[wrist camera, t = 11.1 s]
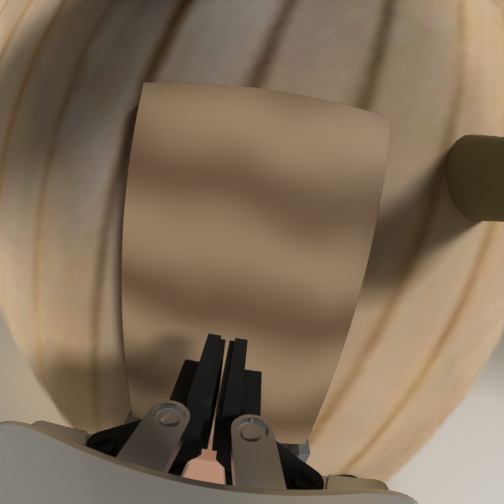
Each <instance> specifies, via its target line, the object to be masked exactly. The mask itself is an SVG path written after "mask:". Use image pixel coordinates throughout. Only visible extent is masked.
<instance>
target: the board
mask: <svg viewBox="0 0 504 504" xmlns="http://www.w3.org/2000/svg"><path fill="white" fill-rule="evenodd" d="M390 125H391V118H389V117H386V116H383V115H379V114H376V113H373V112H369V111H366V110H362V109H359V108H355V107H351V106H348V105H344V104H340V103H336V102H331V101H327V100H323V99H318V98H313V97H308V96H303V95H298V94H292V93H287V92H280V91H274V90H267V89H260V88H252V87H243V86H233V85H221V84H207V83H180V82H153V83H144V84H143V89H142V93H141V98H140V102H139V107H138V112H137V118H136V123H135V129H134V134H133V141H132V147H131V154H130V161H129V169H128V177H127V186H126V196H125V208H124V222H123V240H122V320H123V338H124V352H125V363H126V373H127V382H128V390H129V397H130V404H131V411H132V416H134V417H137V418H140V419H143V418H144V416H145V415H146V413H147V412H148V410H149V409H150V408H151V407H152V406H153V405H154V404H155V403H157V402H159V401H164V400H169V399H170V397H171V394H172V391H173V389H174V386H175V384H176V381H177V379H178V376H179V374H180V371H181V368H182V366H183V363H184V361H185V360H186V359H188V360H193V361H198V362H199V361H200V358H201V355H202V351H203V348H204V345H205V342H206V339H207V336H208V334H209V333H210V334H215V335H221V339H225V340H226V342H225V350H224V358H223V366H222V374H221V381H222V376H223V371H224V366H225V361H226V356H227V351H228V346H229V341H230V340H231V341H235V338H240V339H247V340H248V343H247V353H246V362H245V369H246V370H253V371H261V372H262V383H261V417H263V418H265V419H266V420H268V421H269V423H270V424H271V425H272V427H273V430H274V435H275V439H276V441H277V442H278V443H288V444H305V443H306V441H307V438H308V436H309V434H310V432H311V429H312V427H313V425H314V423H315V420H316V418H317V416H318V413H319V411H320V408H321V406H322V404H323V401H324V399H325V396H326V394H327V391H328V388H329V386H330V383H331V381H332V378H333V375H334V372H335V370H336V367H337V364H338V361H339V358H340V356H341V353H342V350H343V347H344V344H345V341H346V338H347V335H348V331H349V328H350V325H351V322H352V318H353V315H354V312H355V308H356V305H357V301H358V298H359V294H360V290H361V287H362V283H363V279H364V275H365V271H366V267H367V263H368V259H369V255H370V250H371V246H372V241H373V237H374V232H375V227H376V222H377V217H378V211H379V206H380V200H381V195H382V188H383V182H384V175H385V169H386V161H387V153H388V145H389V136H390ZM220 386H221V382H220ZM219 391H220V389H219ZM218 396H219V395H218ZM217 401H218V400H217ZM216 408H217V405H216ZM215 416H216V410H215V415H214V420H213V425H212V430H211V435H213V434H214V425H215Z"/></svg>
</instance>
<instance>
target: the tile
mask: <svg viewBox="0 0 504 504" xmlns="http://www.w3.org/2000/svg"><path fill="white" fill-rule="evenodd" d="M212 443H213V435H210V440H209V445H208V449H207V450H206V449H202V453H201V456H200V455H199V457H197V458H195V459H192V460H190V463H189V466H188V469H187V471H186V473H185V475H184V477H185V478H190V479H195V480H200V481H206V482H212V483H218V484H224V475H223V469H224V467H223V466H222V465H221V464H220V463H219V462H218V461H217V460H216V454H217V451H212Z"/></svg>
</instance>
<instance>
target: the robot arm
mask: <svg viewBox="0 0 504 504" xmlns="http://www.w3.org/2000/svg"><path fill="white" fill-rule="evenodd" d="M225 342H226V340H225V339H221V335H215V334H210V333H209V334H208V336H207V339H206V342H205V345H204V348H203V351H202V355H201V358H200V361H199V362H198V361H193V360H188V359H186V360H185V361H184V363H183V366H182V368H181V371H180V374H179V376H178V379H177V381H176V384H175V386H174V389H173V391H172V394H171V397H170V399H169V400H164V401H159V402H157V403H155V404H154V405H153V406H152V407H151V408H150V409H149V410H148V412H147V413H146V415H145V416H144V418H143V419H140V420H137V421H134V422H131V423H128V424H124V425H121V426H118V427H114V428H111V429H107V430H104V431H100V432H97V433H95V434H93V435H91V434H88V433H87V431H83V430H78V429H74V428H70V427H65V426H61V425H57V424H54V423H50V422H46V421H37V422H34V423H33V424H27V423H21V422H15V421H5V422H0V504H418V503H417V501H415V500H414V499H413V498H411V497H410V496H408V495H406V494H403V493H399V492H395V491H390V490H388V487H387V486H386V484H385V483H383V482H381V481H379V480H375V479H363V478H353V477H344V476H336V475H329V476H328V477H327V476H321V475H320V474H319V473H318V472H317V471H316V470H314V469H313V468H312V467H310V466H309V465H307V464H306V463H305V462H303V461H302V460H301V459H299V458H298V457H297V456H295V455H294V454H293V453H291V452H290V451H289V450H287V449H286V448H285V447H284V446H282V445H281V444H280V443H278V442H277V441H276V439H275V435H274V430H273V427H272V425H271V424H270V423H269V421H268V420H266V419H265V418H263V417H261V383H262V372H261V371H253V370H246V369H245V362H246V353H247V343H248V340H247V339H240V338H235V341H231V340H230V341H229V346H228V351H227V356H226V361H225V366H224V371H223V376H222V381H221V374H222V366H223V358H224V350H225ZM220 382H221V386H220ZM219 389H220V391H219ZM218 395H219V396H218ZM217 400H218V401H217ZM216 405H217V408H216ZM215 410H216V416H215V425H214V434H213V443H212V451H217V454H216V460H217V461H218V462H219V463H220V464H221V465H222V466H223V467H224V469H223V475H224V484H218V483H212V482H206V481H200V480H195V479H190V478H185V477H184V475H185V473H186V471H187V469H188V466H189V463H190V460H192V459H195V458H197V457H199V455H200V456H201V453H202V449H206V450H207V449H208V445H209V440H210V435H211V430H212V425H213V420H214V415H215Z"/></svg>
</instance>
